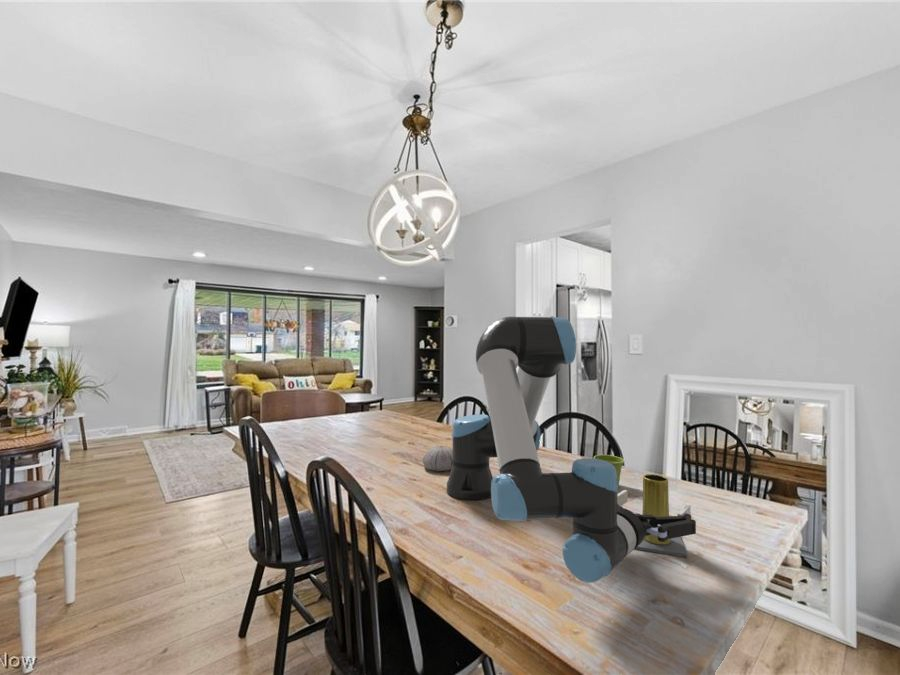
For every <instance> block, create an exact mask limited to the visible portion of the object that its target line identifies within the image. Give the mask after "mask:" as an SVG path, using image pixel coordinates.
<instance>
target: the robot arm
mask: <svg viewBox="0 0 900 675" xmlns="http://www.w3.org/2000/svg"><path fill="white" fill-rule="evenodd" d="M576 340H577V339H576V334H575V330H574V327H573V325H572V323H571V322H570V321H569V320H568V319H567V318H565V317H557V316H552V315H551V316H549V317H547V316H505V317H502V318H501V317H500V318H499V319H497V320H496V321H494V322H493V323H491V324H490V325H489V326H487V328H486V329H485V330H484V332H483V333H482V335H481V336H480V338H479V341H478V343H477V345H476V349H475V361H476V369H477V370H478V373H479V374H480V375H482V378H483V383H484V389H485V394H486V400H487V406H488V411H489V415H487V414H483V413H482V414H469V415H465V416H461V417H458V418H456V419H455V420H454V421H453V423H452V429H451V431H452V432H451V438H452V449H451V450H452V469H451V470H450V473H449V476H448V480H447V481H446V493H447V494H448V495H449V496H451V497H454V498H456V499H459V500H460V499H461V500H467V501H468V500H469V501H473V500H474V501H475V500H476V501H477V500H484V499H487V498H488V499H489V498H491V506H492V511H493V513H494V515H495V516H496V517H497V519H499V520H503V521H518V522H519V521H520V522H524V521H531V520H547V519H548V520H549V519H572V535H570V536H569V538H568V539H567V540H566V541H565V543H564V544H563V547H562V557H563V562H564V564H565V566H566V568H567V569H568V571H569V573H571V575H572V576H574V577H575V578H576V579H578V580H580V581H581V582H584V583H588V584H592V583H596V582H598V581H600V580H602V578H604V577H606V576H608V575H610V574H611V573H610V572H612V570H614V568H616V566H618V565H619V564H620V563H621V562H622V561H623V560H624V559H625V558H626V557H627V556H628V555H629V554H631V553H632V552H633V551H634V550H636V549H635V548H636V547H637V546H638V545H640V544H641V542H642V541H643V539H644V537H645V536H648V535H651V534H653V535H656V536H658V541H661V542H665V541H666V540H668V539H671V538H676V537H680V538H681V537H686V536H690V535H695V534H697V521H696V520H695V519H692V514H691V505H687V504H686V505H685V506H684V507H682V509H681V510H680V511H678V512H677V515H673V516H672V515H671V516H670V515H669V516H664V517H654V516H653V515H642V514H640V513H634V512H633V511H631V510H629V509H627V508H625V507H623V506H624V505H625V504H626V503H628V501H629V500H628V494H629V493H628V490H627V489H623V490H622V491H620V492H619V486H618V485H617V475H616V469H615V467H614V466H613V465H612V464H611V463H609V462H607V461H604V460H600V459H594V457H593V458H591V457H583V458H578V459H576V460H574V461H573V462H572V467H571V472H546V473H544V472H543V471H542V467H541V465H540V463H541V462H540V459H539V456H538V451H539V447H540V445H541V444H540V443H541V442H540V440H541V428H540V425H539V422H537V420H536V418H537V416H538V412H539V410H540V407H541V404H542V402H543V399H544V396H545V393H546V391H547V388H548V385H549V382H550V380H551V378H553V377H555V376H556V375H557V374H558V373H559V372H560V370H561V367H562V365H569V364H573V362H574V361H575V359H576V354H577V341H576ZM517 367H518V370H517ZM490 458H497V464H498V468H499V469H498V470H499V474H495V475H494V476H493V474H492V471H491V467H490ZM648 520H649V522H648Z"/></svg>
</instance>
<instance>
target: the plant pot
mask: <svg viewBox="0 0 900 675" xmlns="http://www.w3.org/2000/svg"><path fill="white" fill-rule="evenodd" d="M593 458H594V459H600V460H604V461H607V462H609V463H611V464H612V465H613V466H614V467H615V469H616V475H617V485H618V487H619V486H620V485H619V484H620V478H621V477H620V476H621V471H622V468H623V464H624V463H625V459H623V458H622V457H619V456H615V455H611V454H610V455H609V454H596V455H594V456H593Z"/></svg>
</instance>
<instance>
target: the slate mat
mask: <svg viewBox="0 0 900 675" xmlns="http://www.w3.org/2000/svg"><path fill="white" fill-rule="evenodd" d="M634 550H639V551H645V552H651V553H659V554H664V555H669V556H675V557H676V556H677V557H682V558H688V553H687V550H686V547H685V545H684V542H683V541H682V538H681V537H676V538H671V542H670V543H669V544H667V545H657V544H653V543H650V542H647V541H646V540H644V539H643V541H642V542H641V544H640V545H638V546H637V547H636V548H635V549H634Z"/></svg>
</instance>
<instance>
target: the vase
mask: <svg viewBox="0 0 900 675" xmlns="http://www.w3.org/2000/svg"><path fill="white" fill-rule="evenodd" d="M669 497H670V496H669V479H668V477H666V476H663V475H660V474H652V473H651V474H650V473H649V474H644V475H643V477H642V514H641V515H653V516H654V517H664V516H670V508H669V506H670V504H669V500H670V499H669ZM648 522H649V520H648ZM644 540H646V541H647V542H650V543H653V544H657V545H667V544H669V543H670V542H671V539H668V540H666V541H665V542H661V541H658V536H656V535H653V534H651V535H648V536H645V537H644Z"/></svg>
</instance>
